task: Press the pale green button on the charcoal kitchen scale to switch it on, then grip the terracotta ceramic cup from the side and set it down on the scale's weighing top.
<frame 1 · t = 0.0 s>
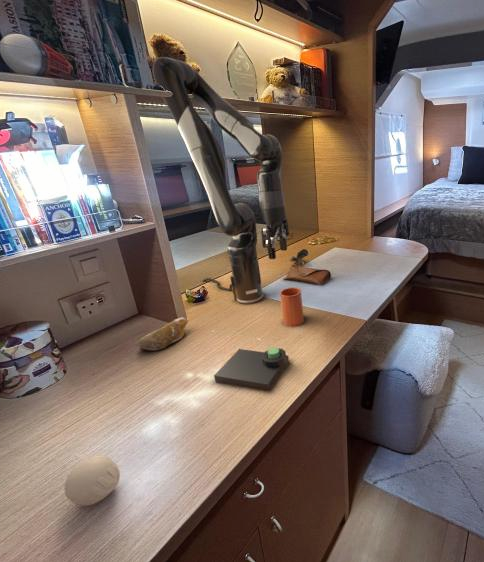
hand: (278, 254, 111), 17 cm above the table, tool pointing down, fingers open, 8 cm apart
sunglasses case: (307, 279, 135), on the table
scale: (253, 371, 83), on the table
eagle figurine: (300, 265, 151), on the table
stone: (166, 341, 98), on the table
scale button: (273, 353, 83), point 4 cm above the table, slide at 0.1 cm
cup: (293, 320, 105), on the table
tan rounded lump: (101, 494, 56), on the table
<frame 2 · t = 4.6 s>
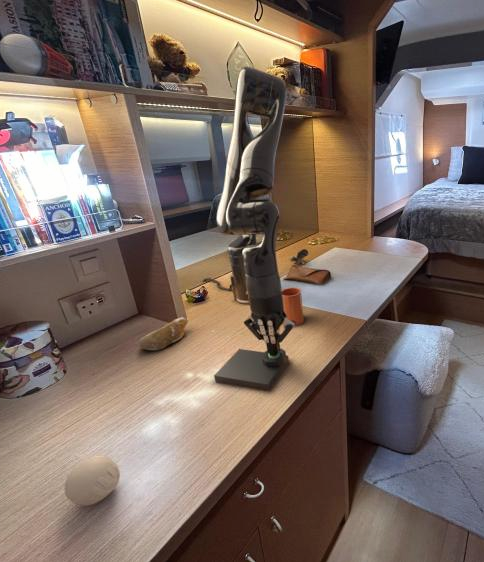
hand: (274, 353, 83), 4 cm above the table, tool pointing down, fingers closed
scale button: (274, 356, 83), point 3 cm above the table, slide at -0.8 cm, touching gripper
everything else where it was.
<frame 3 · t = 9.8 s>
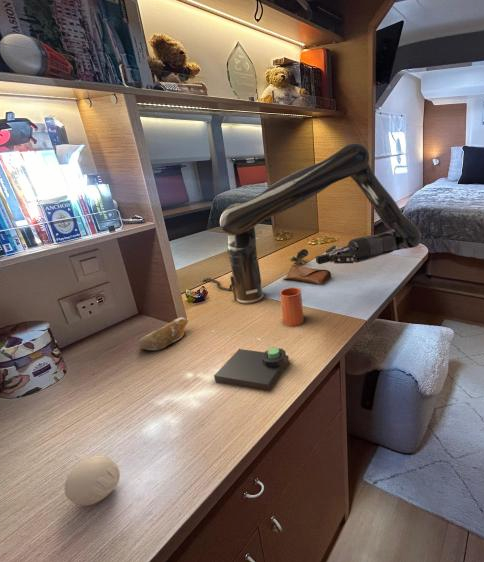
hand: (316, 260, 102), 18 cm above the table, tool horizontal, fingers closed
scale button: (273, 353, 83), point 4 cm above the table, slide at 0.1 cm
everything else where it was.
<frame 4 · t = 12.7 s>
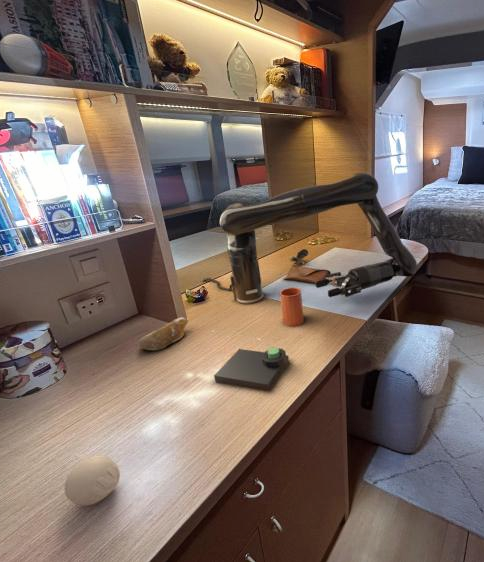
hand: (322, 289, 107), 8 cm above the table, tool horizontal, fingers open, 8 cm apart
nothing on the table moved.
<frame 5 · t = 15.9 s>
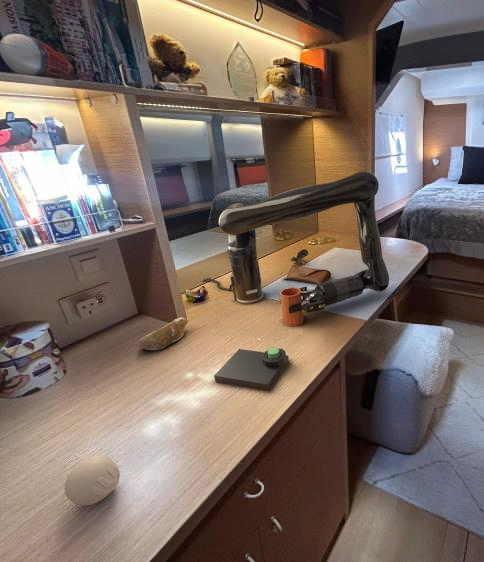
hand: (284, 305, 102), 6 cm above the table, tool horizontal, fingers closed on cup, 6 cm apart
cup: (293, 320, 105), on the table, touching gripper
everything else where it was.
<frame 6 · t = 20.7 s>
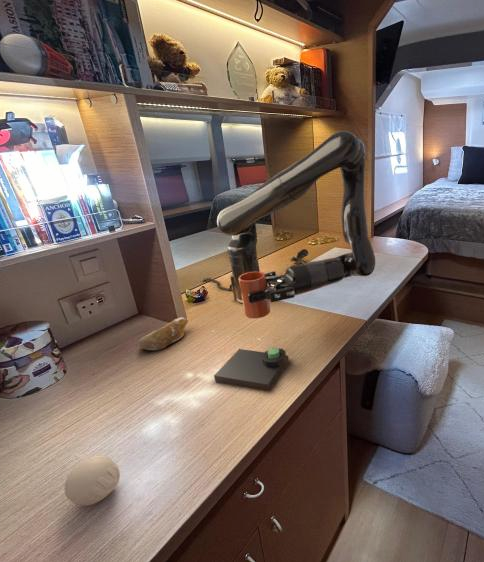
hand: (244, 293, 82), 18 cm above the table, tool horizontal, fingers closed on cup, 6 cm apart
cup: (257, 312, 86), point 12 cm above the table, touching gripper
everything else where it was.
when the fingers open (8 cm above the table, at t = 25.5 s): cup stays where it is, resting on scale.
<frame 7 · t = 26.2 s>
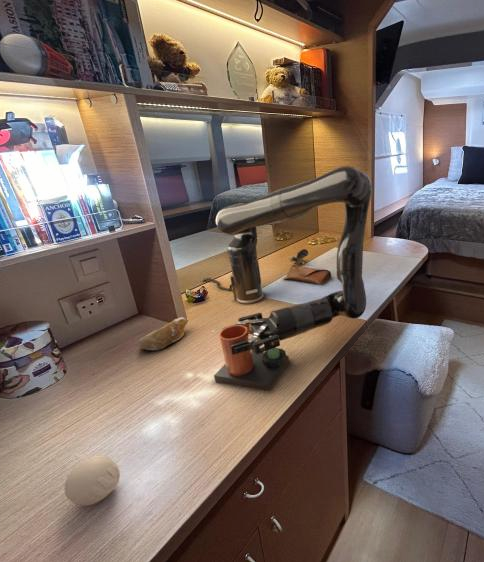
hand: (226, 341, 78), 10 cm above the table, tool horizontal, fingers open, 8 cm apart
cup: (240, 367, 82), point 2 cm above the table, touching scale
everything else where it was.
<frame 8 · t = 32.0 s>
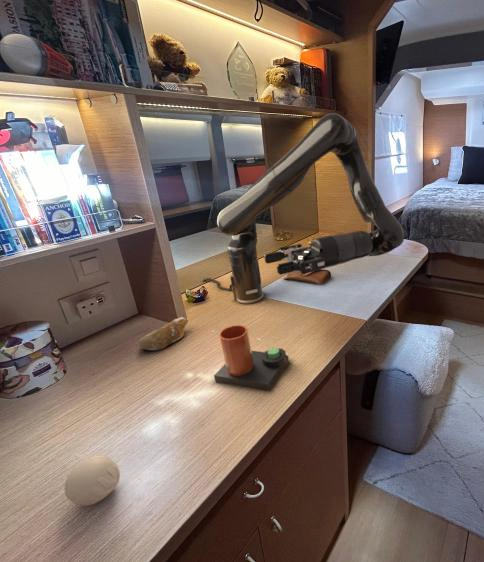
hand: (271, 264, 77), 26 cm above the table, tool horizontal, fingers open, 8 cm apart
nothing on the table moved.
at the end: scale button pushed in 0.9 cm at the most during the clip, back to where it started at the end; cup inside the target area on the scale (0.3 cm from its centre), point 1.9 cm above the scale's base; cup tilted 0° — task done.
